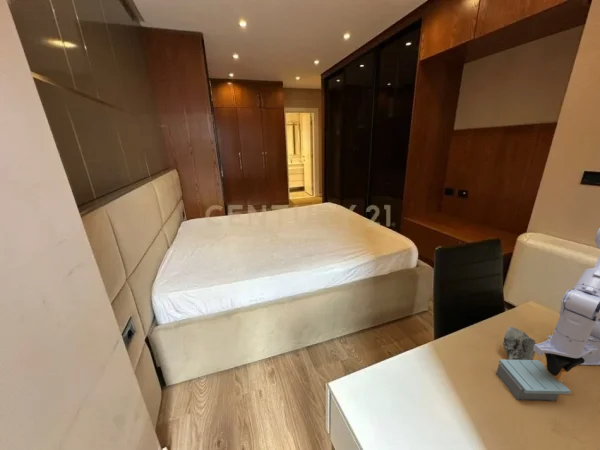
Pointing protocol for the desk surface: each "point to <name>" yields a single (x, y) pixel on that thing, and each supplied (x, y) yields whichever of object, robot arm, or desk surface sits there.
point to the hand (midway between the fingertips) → (554, 372)
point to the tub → (518, 390)
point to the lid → (536, 377)
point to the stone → (518, 345)
